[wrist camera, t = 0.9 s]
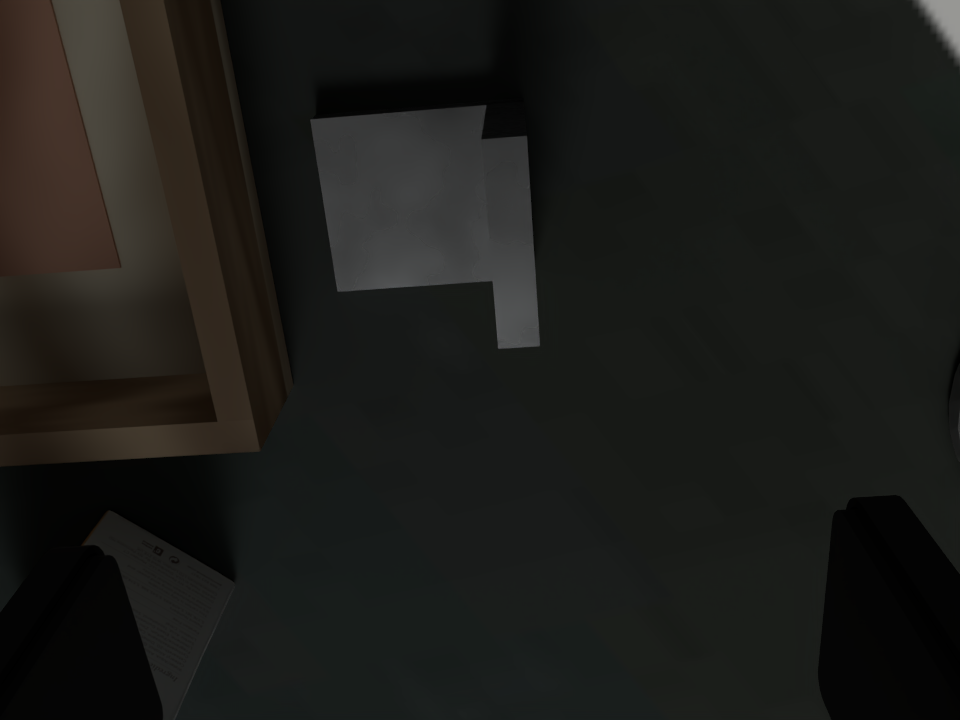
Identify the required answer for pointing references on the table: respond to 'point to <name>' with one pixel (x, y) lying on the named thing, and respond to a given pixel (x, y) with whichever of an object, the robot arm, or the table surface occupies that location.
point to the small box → (165, 602)
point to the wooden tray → (130, 239)
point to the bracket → (433, 202)
